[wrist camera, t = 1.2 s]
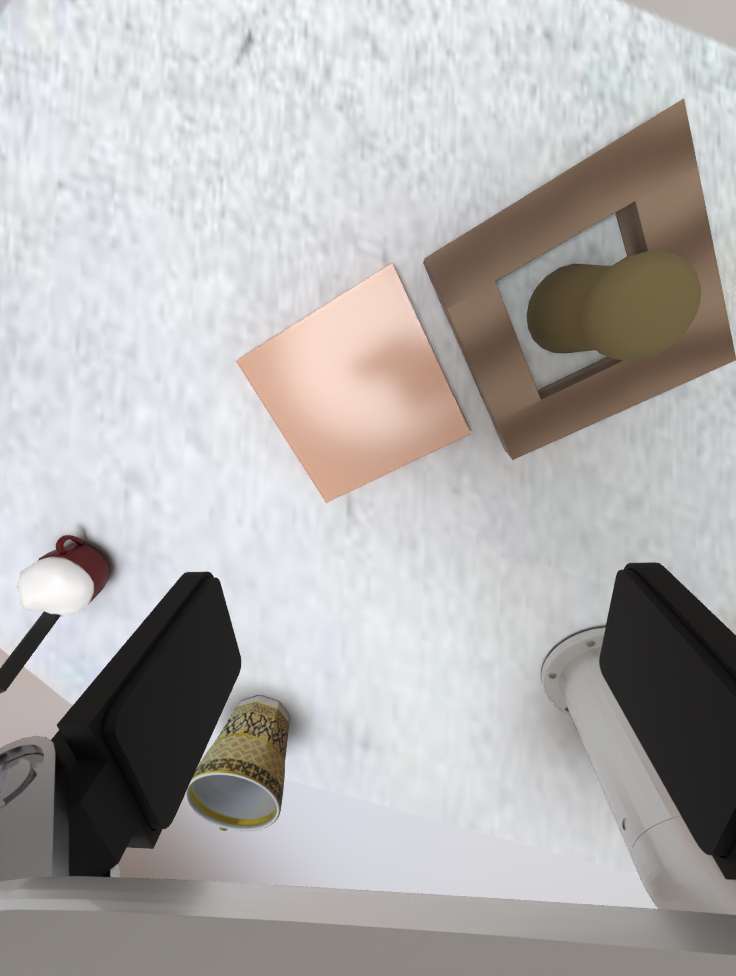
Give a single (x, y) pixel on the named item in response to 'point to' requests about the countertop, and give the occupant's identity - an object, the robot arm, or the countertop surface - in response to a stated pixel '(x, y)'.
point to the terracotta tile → (356, 387)
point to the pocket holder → (549, 222)
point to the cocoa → (55, 594)
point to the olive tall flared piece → (616, 306)
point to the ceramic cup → (244, 769)
